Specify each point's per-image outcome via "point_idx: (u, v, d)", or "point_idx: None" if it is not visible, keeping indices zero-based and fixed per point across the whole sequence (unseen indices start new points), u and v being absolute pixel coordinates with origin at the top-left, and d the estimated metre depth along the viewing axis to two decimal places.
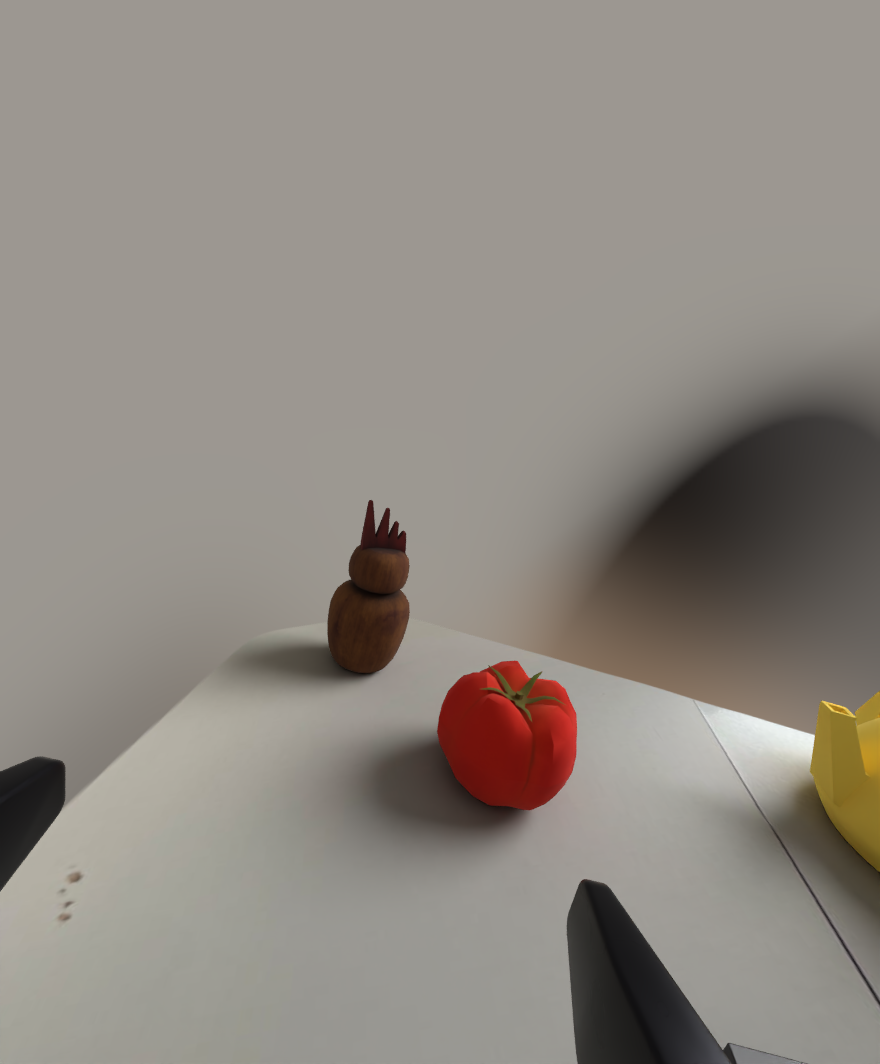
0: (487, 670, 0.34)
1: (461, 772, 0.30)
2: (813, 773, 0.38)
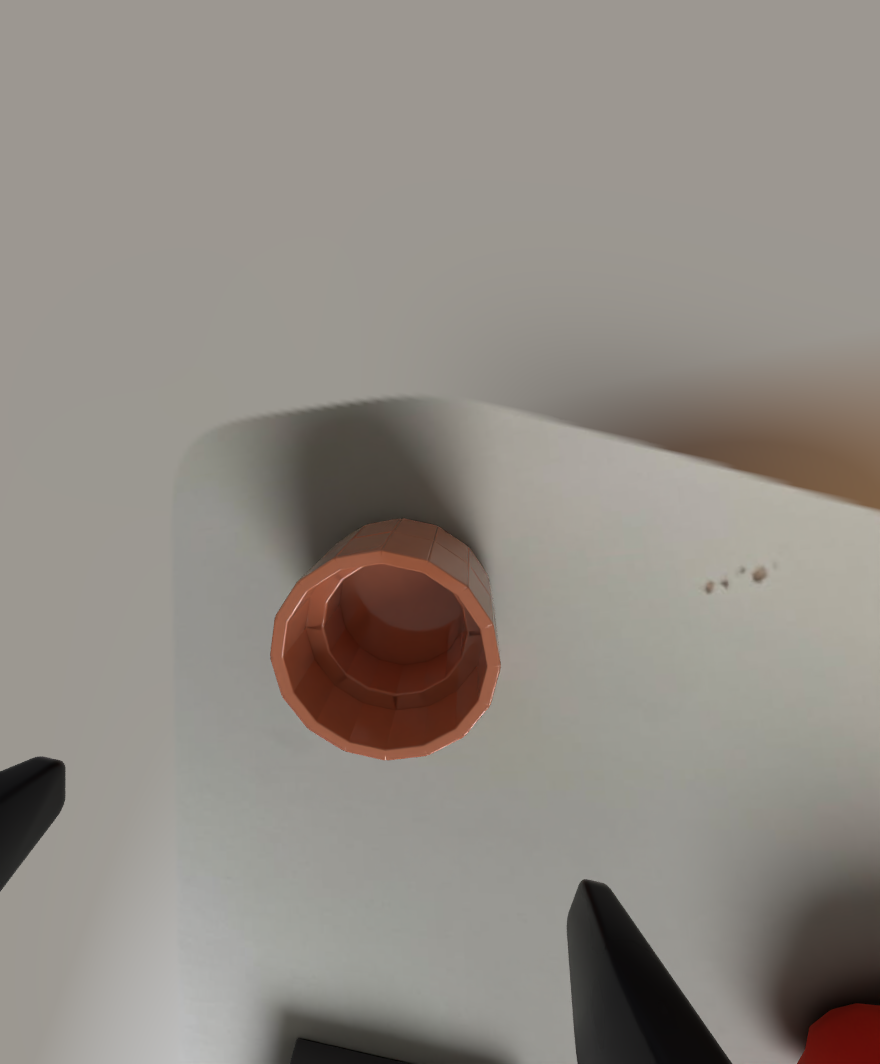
0: None
1: (867, 1041, 0.19)
2: None
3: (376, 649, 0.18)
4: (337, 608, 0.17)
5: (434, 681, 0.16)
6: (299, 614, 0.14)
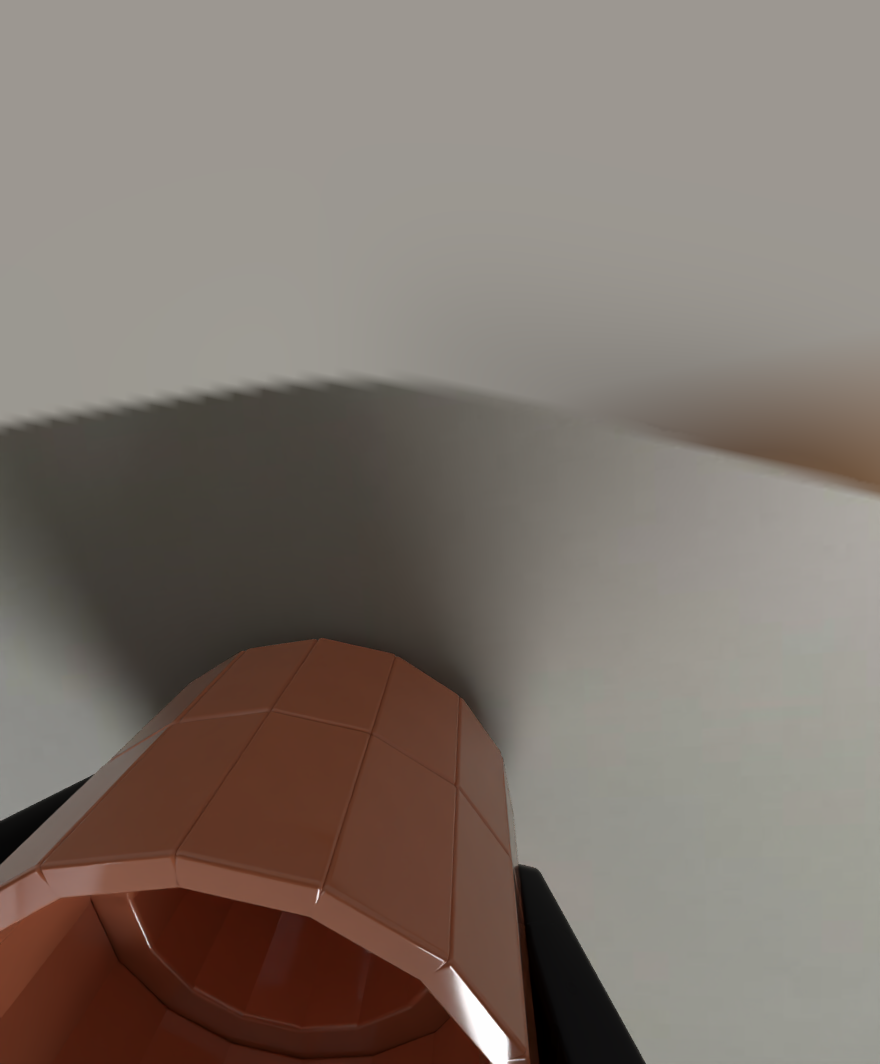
0: None
1: None
2: None
3: None
4: None
5: (384, 1004, 0.07)
6: (32, 922, 0.06)
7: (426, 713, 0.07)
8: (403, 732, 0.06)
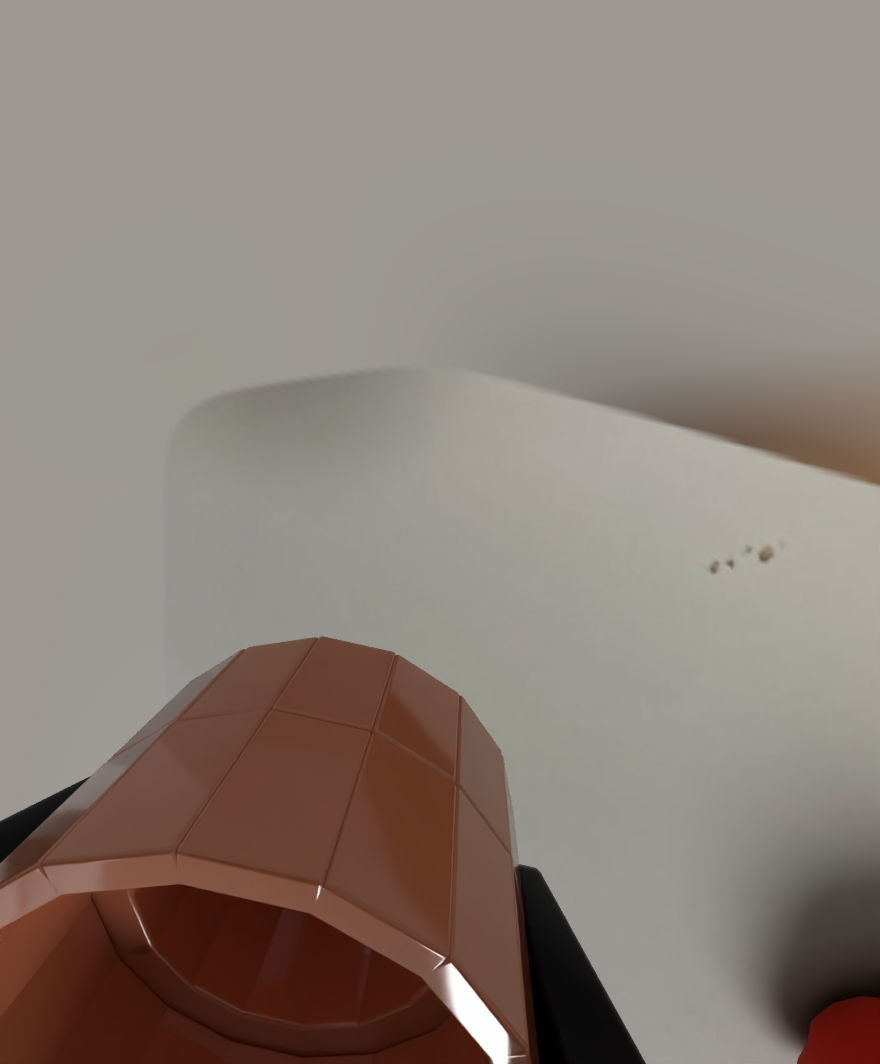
0: None
1: (871, 1034, 0.19)
2: None
3: None
4: None
5: (385, 1002, 0.07)
6: (33, 920, 0.06)
7: (426, 711, 0.07)
8: (403, 730, 0.06)
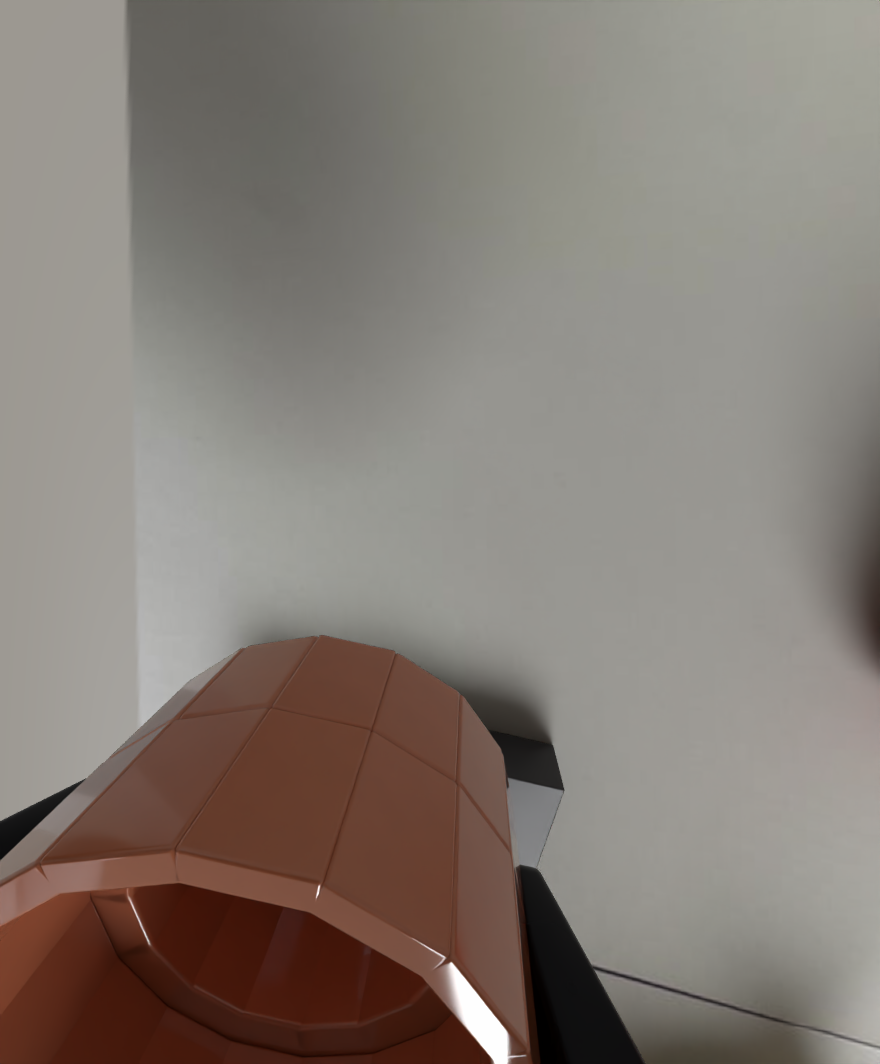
0: None
1: None
2: None
3: None
4: None
5: (385, 1001, 0.07)
6: (31, 919, 0.06)
7: (426, 710, 0.07)
8: (403, 729, 0.06)
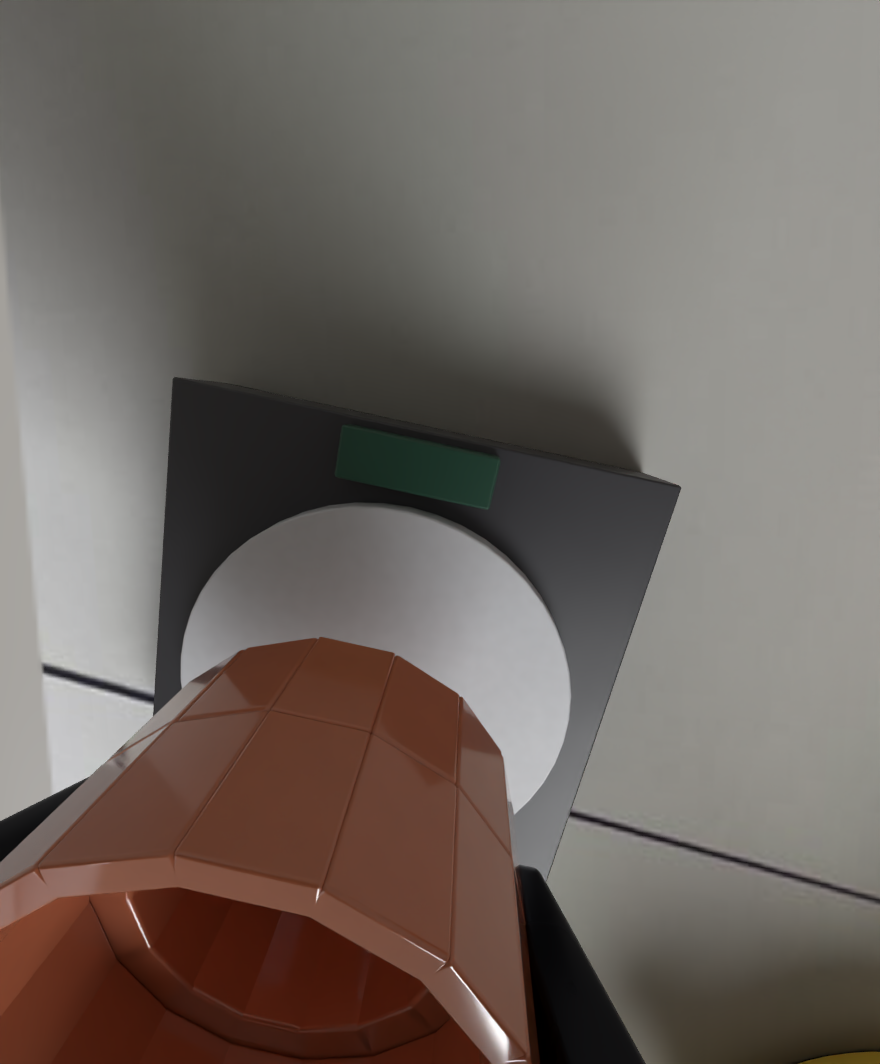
0: None
1: None
2: None
3: None
4: None
5: (384, 1004, 0.07)
6: (30, 922, 0.06)
7: (426, 712, 0.07)
8: (403, 731, 0.06)
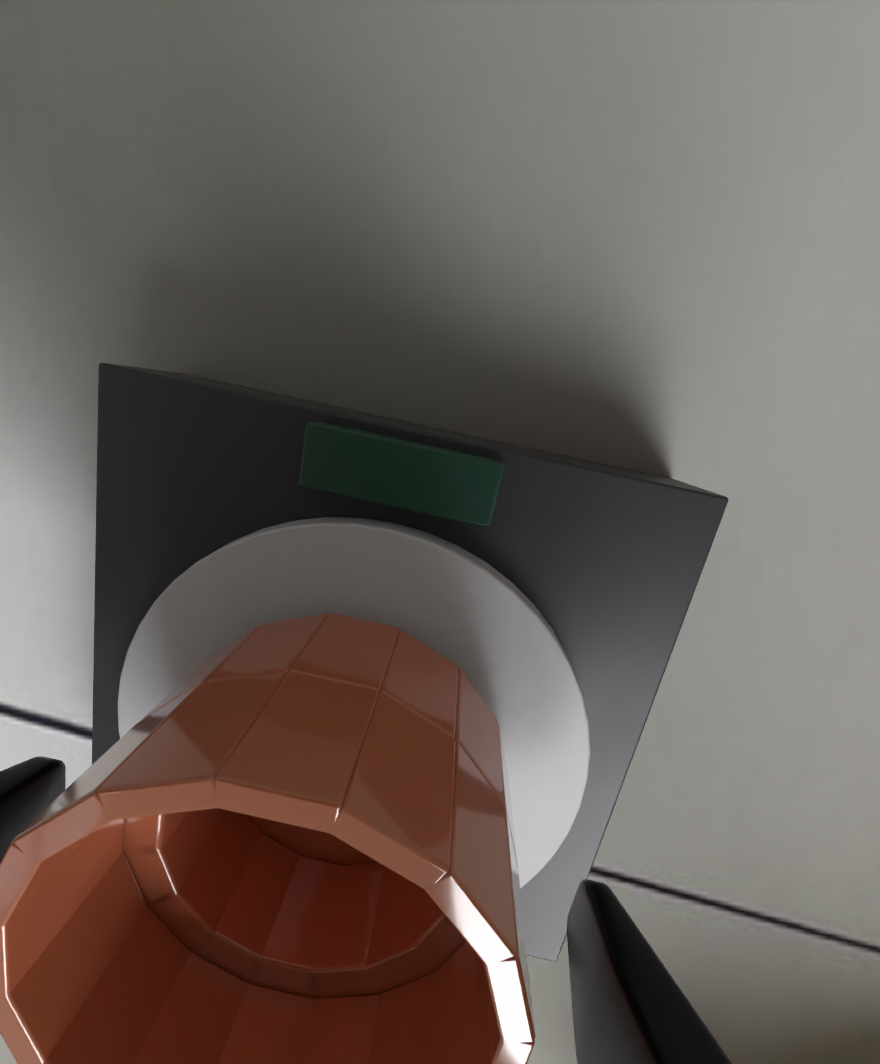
0: None
1: None
2: None
3: (293, 838, 0.10)
4: None
5: (390, 946, 0.08)
6: (76, 860, 0.06)
7: (428, 679, 0.08)
8: (408, 692, 0.07)
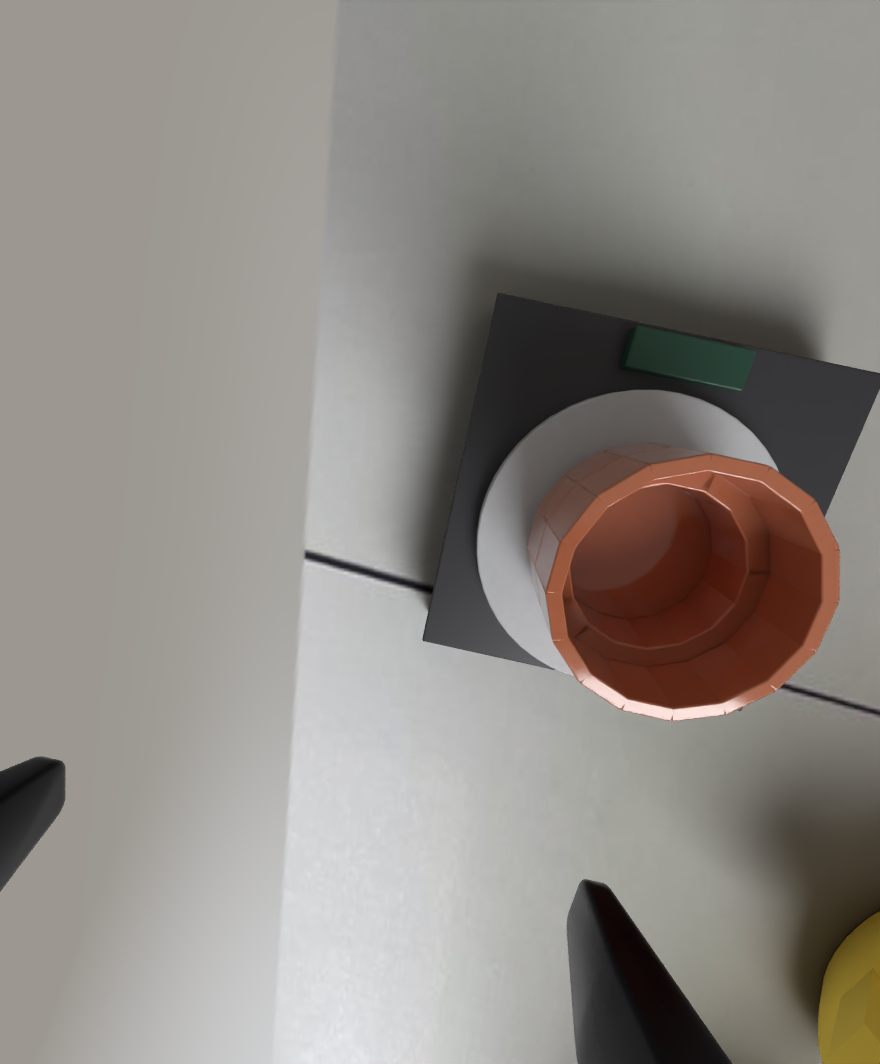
0: None
1: None
2: None
3: (595, 601, 0.15)
4: None
5: (694, 632, 0.14)
6: None
7: None
8: None
